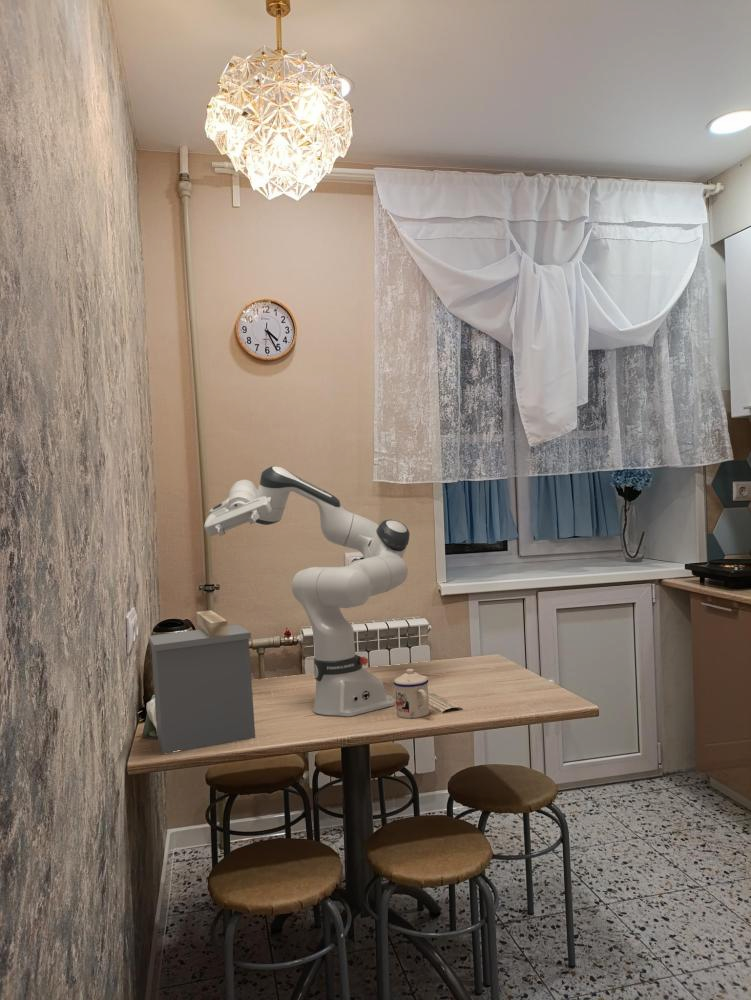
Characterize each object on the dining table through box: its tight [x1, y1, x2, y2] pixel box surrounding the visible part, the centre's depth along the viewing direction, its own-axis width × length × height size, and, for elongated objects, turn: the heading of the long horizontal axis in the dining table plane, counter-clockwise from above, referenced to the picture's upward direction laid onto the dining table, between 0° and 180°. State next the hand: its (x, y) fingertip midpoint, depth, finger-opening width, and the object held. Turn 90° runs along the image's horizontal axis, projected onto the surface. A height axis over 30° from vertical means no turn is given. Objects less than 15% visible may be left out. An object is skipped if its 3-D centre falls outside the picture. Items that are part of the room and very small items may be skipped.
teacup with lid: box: [393, 668, 430, 719], centre depth 191 cm, size 12×9×12 cm
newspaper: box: [428, 689, 464, 714], centre depth 203 cm, size 24×7×2 cm, turn 20°
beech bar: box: [195, 609, 229, 637], centre depth 190 cm, size 4×24×4 cm, turn 22°
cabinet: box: [147, 624, 256, 755], centre depth 184 cm, size 23×15×26 cm, turn 112°
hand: (236, 527), depth 209 cm, fingers open, 8 cm apart
